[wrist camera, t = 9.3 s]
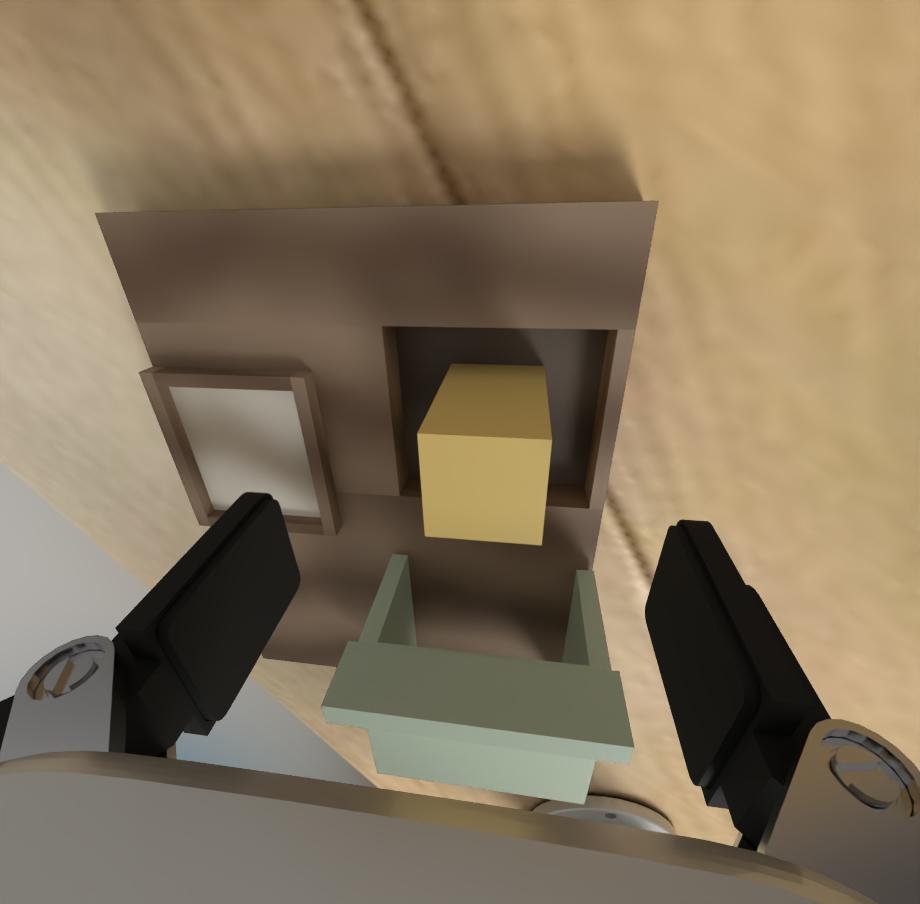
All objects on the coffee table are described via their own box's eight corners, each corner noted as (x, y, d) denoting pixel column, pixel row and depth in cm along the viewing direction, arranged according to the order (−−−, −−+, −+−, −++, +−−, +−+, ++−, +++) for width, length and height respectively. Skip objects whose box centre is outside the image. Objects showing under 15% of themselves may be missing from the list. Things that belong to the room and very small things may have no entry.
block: (537, 448, 20) (541, 545, 14) (453, 443, 21) (424, 536, 15) (544, 366, 18) (552, 439, 12) (451, 363, 19) (417, 433, 13)
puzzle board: (567, 664, 28) (571, 714, 25) (278, 632, 30) (253, 674, 28) (643, 201, 15) (669, 200, 12) (136, 212, 18) (64, 213, 15)
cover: (572, 684, 25) (590, 876, 18) (406, 664, 26) (360, 836, 19) (596, 555, 20) (634, 747, 13) (390, 538, 22) (321, 706, 14)
